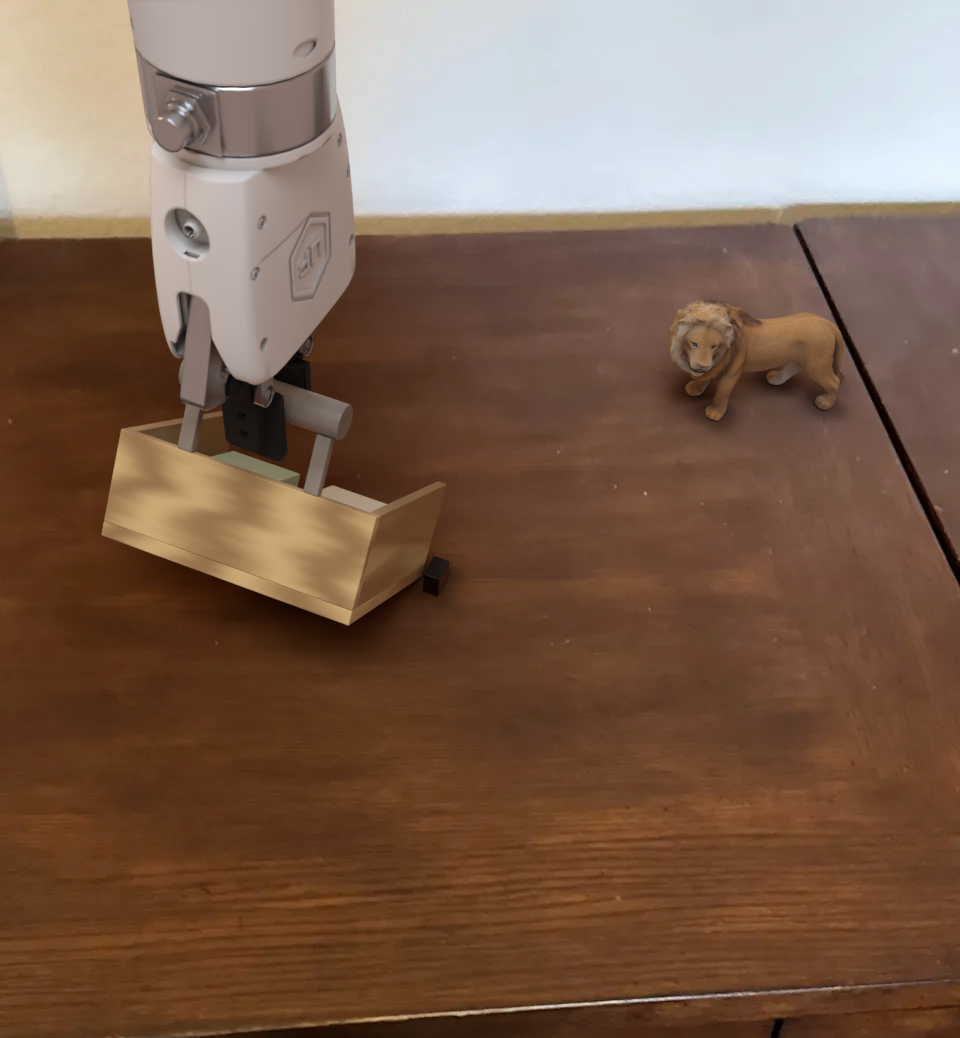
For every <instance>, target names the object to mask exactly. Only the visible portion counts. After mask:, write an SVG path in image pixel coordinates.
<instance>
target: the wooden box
mask: <svg viewBox="0 0 960 1038" xmlns="http://www.w3.org/2000/svg"><path fill="white" fill-rule="evenodd" d="M183 361H184V358H182V362H181V363H180V366H179V371H178V383H179V385H180V386H181V382H182V371H183ZM274 383H275V392H278V393H280V394H281V395H283V397H284V410H285V422H287V423H286V424H288V423H290V424H289V425H291V424H293V425H292V426H294V425H296V426H295V427H297V426H299V427H298V428H300V427H302V428H301V429H305V430H307V431H311V432H314V433H316V436H315V441H314V445H313V447H312V453H311V457H310V462H309V465H308V470H307V474H306V477H305V481H304V482H305V483H304V486H303V488H301V487H299V486H298V487H296V486H293V485H290V484H287V483H284V482H281V481H278V480H275V479H273V478H270V477H267V476H264V475H261V474H258V473H255V472H253V471H250V470H247V469H244V468H241V467H238V466H235V465H232V464H230V463H227V462H224V461H221V460H218V459H215V458H212V457H211V456H215V455H219V454H223V453H227V452H229V450H230V445H231V444H230V443H229V442H228V441H227V440H226V437H225V430H224V422H223V414H222V410H218V411H214V412H208V413H205V411H204V410H201V409H199V408H196V407H193V406H190V405H187V404H185V408H184V413H183V417H180V418H174V419H170V420H169V419H167V420H164V421H158V422H153V423H147V424H140V425H136V426H129V427H124V428H121V429H120V433H119V437H118V438H119V439H118V444H117V448H116V449H117V450H116V454H115V459H114V465H113V471H112V476H111V482H110V485H109V486H110V487H109V492H108V498H107V502H106V508H105V514H104V519H103V520H104V521H103V524H102V529H101V536H102V537H105V538H108V539H111V540H114V541H116V542H118V543H122V544H125V545H128V546H129V547H132V548H135V549H138V550H140V551H143V552H146V553H149V554H151V555H154V556H157V557H159V558H162V559H165V560H167V561H171V562H174V563H176V564H179V565H181V566H184V567H187V568H190V569H192V570H195V571H198V572H201V573H203V574H206V575H209V576H210V577H211V576H212V577H215V578H217V579H219V580H223V581H225V582H228V583H231V584H233V585H236V586H239V587H241V588H244V589H247V590H250V591H252V592H255V593H257V594H261V595H264V596H266V597H268V598H272V599H274V600H277V601H280V602H283V603H285V604H288V605H291V606H292V607H293V606H294V607H296V608H298V609H302V610H304V611H307V612H310V613H312V614H315V615H318V616H320V617H324V618H326V619H328V620H332V621H333V622H334V621H335V622H338V623H341V624H343V625H345V626H350V625H351V624H353V623H354V622H356V621H358V620H359V619H360V618H362V617H363V616H365V615H366V614H368V613H369V612H371V611H372V610H374V609H375V608H377V607H378V606H380V605H381V604H383V603H384V602H385V601H388V600H389V599H390V598H392V597H393V596H394V595H396V594H398V593H399V592H401V591H402V590H404V589H405V588H407V587H408V586H409V585H411V584H412V583H414V582H415V581H417V580H419V579H420V578H421V577H422V576H423V574H424V569H425V564H426V562H427V559H428V554H429V552H430V551H429V550H430V546H431V543H432V539H433V536H434V532H435V529H436V525H437V521H438V518H439V514H440V511H441V507H442V503H443V500H444V496H445V492H446V489H447V485H448V484H447V483H445V482H442V481H439V480H438V481H437V480H436V481H435V482H433V483H431V484H428V485H426V486H424V487H421V488H420V489H417V490H416V491H413V492H411V493H408V494H406V495H404V496H402V497H401V498H398V499H395V500H394V501H391V502H389V503H386V504H387V505H385V506H383V507H381V508H378V509H376V510H374V511H372V512H367V511H364V510H362V509H359V508H356V507H353V506H350V505H347V504H344V503H341V502H339V501H336V500H333V499H330V498H327V497H324V496H321V494H322V490H323V489H324V486H325V482H326V477H327V473H328V470H329V465H330V461H331V456H332V453H333V449H334V445H335V441H336V440H337V441H342V440H343V439H344V438H345V437H346V436H347V434H348V432H349V430H350V429H351V425H352V421H353V416H354V409H353V405H352V404H350V403H347V402H344V401H341V400H338V399H335V398H332V397H329V396H326V395H323V394H320V393H317V392H314V391H312V392H311V391H308V390H305V389H302V388H299V387H296V386H293V385H290V384H287V383H284V382H281V381H278V380H275V379H274Z"/></svg>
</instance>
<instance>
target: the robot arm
mask: <svg viewBox="0 0 960 1038" xmlns="http://www.w3.org/2000/svg"><path fill="white" fill-rule="evenodd" d="M127 9H128V13H129V21H130V27H131V32H132V38H133V45H134V52H135V58H136V65H137V66H136V67H137V72H138V78H139V84H140V85H139V86H140V91H141V97H142V98H141V99H142V105H143V112H144V113H143V114H144V118H145V124H146V127H147V132H148V133H149V135H150V137H151V138H152V140H153V141H152V142H151V145H150V146H149V176H148V181H149V185H148V186H149V187H148V188H149V217H150V218H149V219H150V234H151V235H150V237H151V238H150V239H151V250H152V263H153V271H154V280H155V282H154V283H155V288H156V289H155V290H156V296H157V304H158V309H159V315H160V320H161V325H162V329H163V333H164V336H165V341H166V344H167V346H168V348H169V350H170V352H171V354H172V355H173V357H174V358H175V359H184V361H183V360H182V361H183V371H182V382H181V385H180V393H179V400H180V402H181V403H182V404H184V405H186V404H187V405H190V406H193V407H196V408H199V409H201V410H204V412H209V411H212V410H214V409H216V408H217V407H219V406H221V411H222V414H223V422H224V430H225V437H226V440H227V441H228V442H229V443H230V445H231V446H234V447H236V448H239V449H242V450H245V451H248V452H250V453H254V454H256V455H259V456H261V457H265V458H268V459H271V460H273V461H276V462H281V461H282V460H283V459H284V458H285V457H286V456H287V454H288V441H287V440H288V439H287V426H286V424H289V425H291V426H294V427H297V428H300V429H303V428H302V427H299V426H296V425H293V424H290V423H287V422H285V410H284V397H283V395H281V394H280V393H278V392H275V383H274V379H275V380H278V381H281V382H284V383H287V384H290V385H293V386H296V387H299V388H302V389H305V390H308V391H311V392H313V391H312V375H311V374H312V373H311V362H310V361H309V360H306V359H307V358H309V356H311V354H312V353H313V350H314V346H315V330H316V328H317V327H318V326H319V324H321V322H323V320H324V318H325V317H326V316H327V315H328V313H329V312H330V311H331V310H332V308H333V307H334V306H335V305H336V303H337V302H338V301H339V299H340V298H341V297H342V295H344V293H345V291H346V289H347V288H348V286H349V285H350V283H351V281H352V279H353V276H354V273H355V270H356V230H355V227H356V226H355V212H354V211H355V210H354V198H353V197H354V196H353V185H352V175H351V174H352V173H351V165H350V153H349V146H348V141H347V140H348V139H347V131H346V128H345V123H344V118H343V112H342V111H343V110H342V106H341V104H340V100H339V96H338V92H337V62H336V61H337V60H336V59H337V58H336V23H335V22H336V20H335V19H336V18H335V16H336V15H335V0H127ZM303 358H305V359H303Z"/></svg>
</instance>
